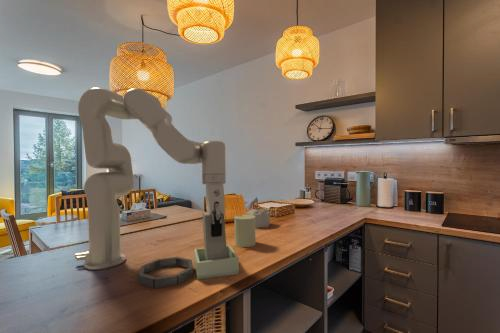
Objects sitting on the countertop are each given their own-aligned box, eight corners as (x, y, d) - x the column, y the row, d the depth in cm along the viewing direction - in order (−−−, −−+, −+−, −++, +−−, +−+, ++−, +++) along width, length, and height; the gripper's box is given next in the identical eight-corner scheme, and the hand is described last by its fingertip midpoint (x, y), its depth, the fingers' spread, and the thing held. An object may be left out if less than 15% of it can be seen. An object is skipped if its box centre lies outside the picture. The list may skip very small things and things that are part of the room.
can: (243, 239, 112) (243, 212, 112) (260, 243, 106) (259, 215, 106) (229, 244, 105) (229, 216, 104) (246, 248, 99) (245, 219, 99)
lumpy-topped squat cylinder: (244, 224, 138) (244, 209, 138) (263, 221, 144) (263, 207, 144) (253, 229, 129) (253, 212, 129) (274, 225, 135) (273, 210, 135)
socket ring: (136, 291, 66) (135, 282, 66) (143, 268, 81) (143, 260, 81) (194, 282, 71) (194, 274, 71) (191, 262, 86) (190, 255, 86)
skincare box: (227, 263, 77) (227, 213, 77) (204, 266, 75) (204, 215, 75) (223, 254, 85) (223, 208, 85) (202, 256, 84) (202, 209, 83)
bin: (197, 279, 73) (197, 263, 73) (194, 263, 85) (194, 249, 85) (238, 273, 76) (238, 257, 76) (230, 258, 88) (229, 245, 88)
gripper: (231, 180, 73) (231, 239, 73) (220, 177, 90) (221, 225, 90) (205, 181, 71) (205, 241, 71) (199, 178, 87) (200, 226, 88)
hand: (214, 232), depth 80 cm, fingers closed on skincare box, 8 cm apart
